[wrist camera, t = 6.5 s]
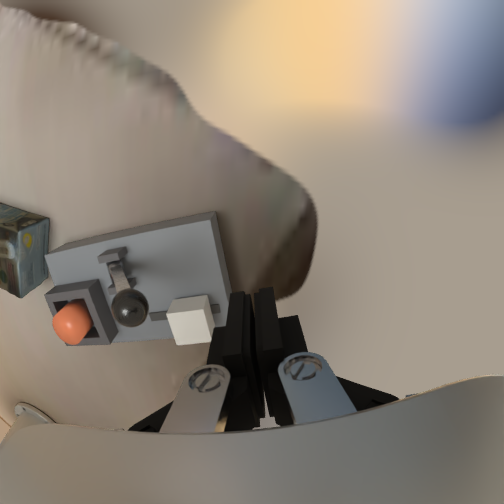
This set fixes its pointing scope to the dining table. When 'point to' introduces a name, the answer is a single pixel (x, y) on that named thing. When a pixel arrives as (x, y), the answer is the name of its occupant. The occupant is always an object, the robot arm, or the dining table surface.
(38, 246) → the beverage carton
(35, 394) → the dining table surface
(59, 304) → the panel
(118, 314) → the lever
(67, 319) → the button
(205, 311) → the slider
